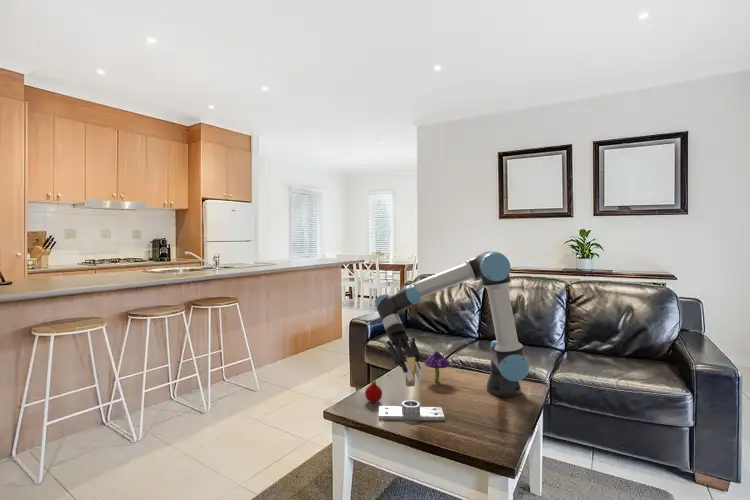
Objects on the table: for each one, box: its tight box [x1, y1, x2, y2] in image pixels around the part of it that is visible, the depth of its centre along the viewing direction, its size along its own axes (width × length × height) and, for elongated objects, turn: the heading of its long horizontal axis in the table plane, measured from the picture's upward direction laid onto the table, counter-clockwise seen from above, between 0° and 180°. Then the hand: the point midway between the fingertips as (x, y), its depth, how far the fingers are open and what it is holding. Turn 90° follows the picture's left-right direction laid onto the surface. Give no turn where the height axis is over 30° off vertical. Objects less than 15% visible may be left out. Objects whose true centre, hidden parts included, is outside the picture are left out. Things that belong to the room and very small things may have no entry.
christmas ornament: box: [364, 378, 383, 403], centre depth 171 cm, size 7×7×10 cm
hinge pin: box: [405, 355, 416, 388], centre depth 158 cm, size 4×4×11 cm
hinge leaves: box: [378, 399, 445, 422], centre depth 159 cm, size 25×9×4 cm, turn 88°
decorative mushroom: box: [423, 350, 451, 383], centre depth 197 cm, size 12×12×15 cm
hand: (415, 378), depth 155 cm, fingers closed on hinge pin, 3 cm apart
